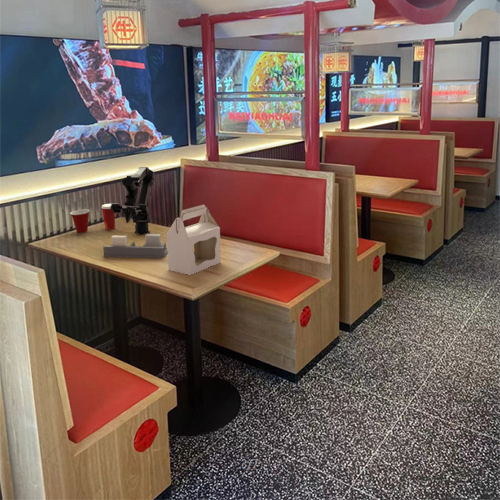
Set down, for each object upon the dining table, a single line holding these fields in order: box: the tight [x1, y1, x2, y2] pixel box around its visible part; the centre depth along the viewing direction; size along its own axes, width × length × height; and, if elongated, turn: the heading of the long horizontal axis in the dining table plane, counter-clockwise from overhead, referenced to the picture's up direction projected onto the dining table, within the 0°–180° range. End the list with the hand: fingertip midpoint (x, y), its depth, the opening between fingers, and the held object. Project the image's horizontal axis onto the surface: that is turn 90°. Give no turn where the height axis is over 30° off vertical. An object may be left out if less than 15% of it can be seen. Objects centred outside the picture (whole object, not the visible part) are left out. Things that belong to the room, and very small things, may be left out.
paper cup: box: [101, 203, 116, 231], centre depth 315 cm, size 8×8×14 cm
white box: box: [144, 233, 162, 247], centre depth 272 cm, size 3×7×8 cm, turn 85°
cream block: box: [110, 234, 129, 246], centre depth 270 cm, size 3×7×8 cm, turn 85°
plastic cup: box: [69, 209, 90, 234], centre depth 310 cm, size 11×11×12 cm
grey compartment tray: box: [102, 241, 168, 259], centre depth 272 cm, size 13×30×5 cm, turn 85°
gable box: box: [166, 204, 222, 276], centre depth 249 cm, size 22×13×28 cm, turn 144°
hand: (127, 222), depth 281 cm, fingers closed
